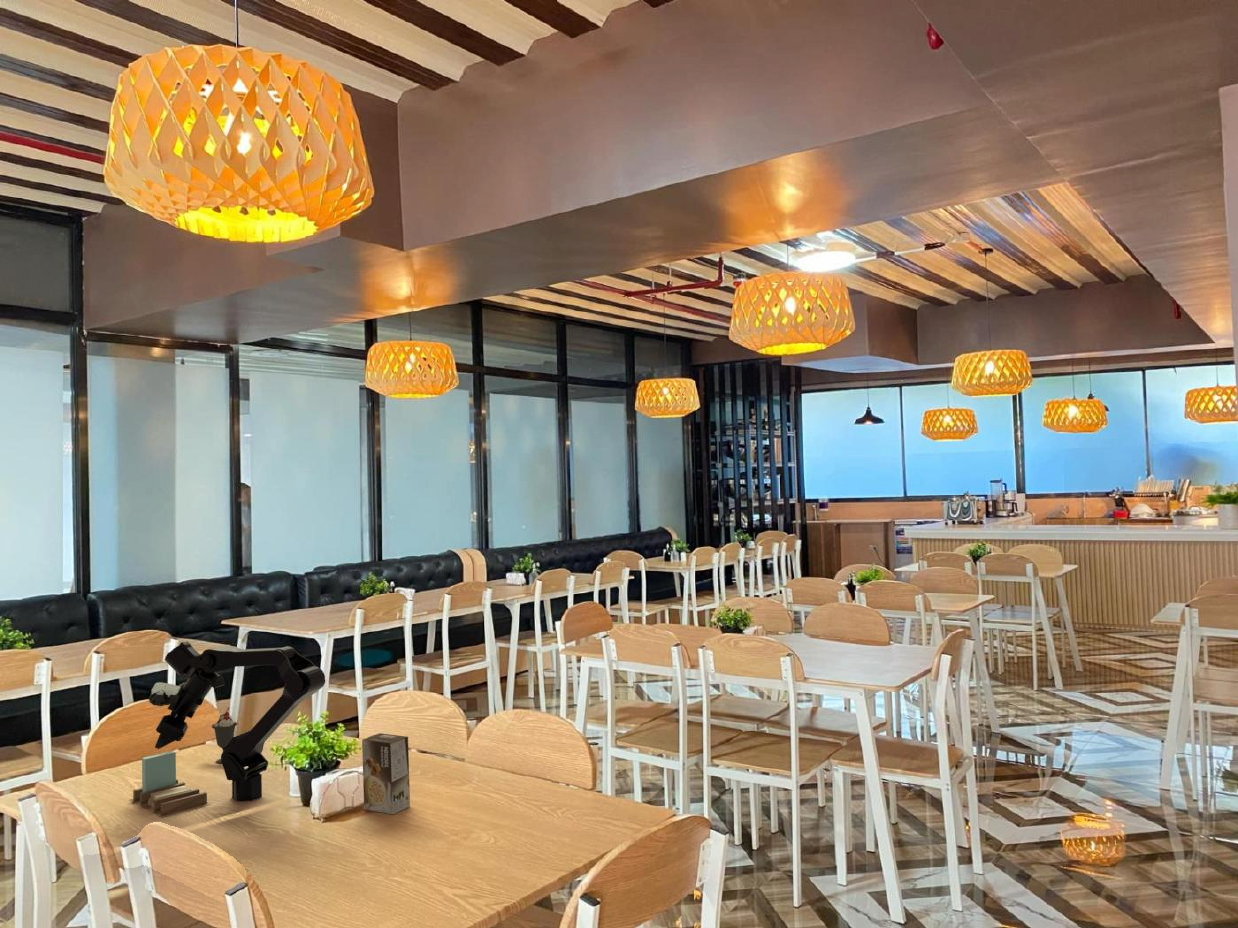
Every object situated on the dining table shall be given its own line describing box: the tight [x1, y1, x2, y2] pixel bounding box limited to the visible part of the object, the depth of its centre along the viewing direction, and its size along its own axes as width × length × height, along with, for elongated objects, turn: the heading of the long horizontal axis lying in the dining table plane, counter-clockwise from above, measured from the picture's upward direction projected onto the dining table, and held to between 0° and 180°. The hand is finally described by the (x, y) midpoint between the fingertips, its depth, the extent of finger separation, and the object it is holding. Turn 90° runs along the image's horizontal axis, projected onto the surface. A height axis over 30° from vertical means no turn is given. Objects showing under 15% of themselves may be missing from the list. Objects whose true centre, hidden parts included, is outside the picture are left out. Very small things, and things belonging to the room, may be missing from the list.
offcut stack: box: [148, 784, 192, 807], centre depth 212 cm, size 5×8×2 cm, turn 139°
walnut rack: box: [129, 778, 212, 819], centre depth 211 cm, size 20×11×4 cm, turn 49°
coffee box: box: [361, 732, 411, 815], centre depth 206 cm, size 9×6×16 cm
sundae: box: [211, 706, 238, 764], centre depth 248 cm, size 7×7×15 cm
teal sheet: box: [141, 750, 177, 793], centre depth 216 cm, size 2×7×10 cm, turn 139°
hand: (162, 736), depth 220 cm, fingers open, 9 cm apart
